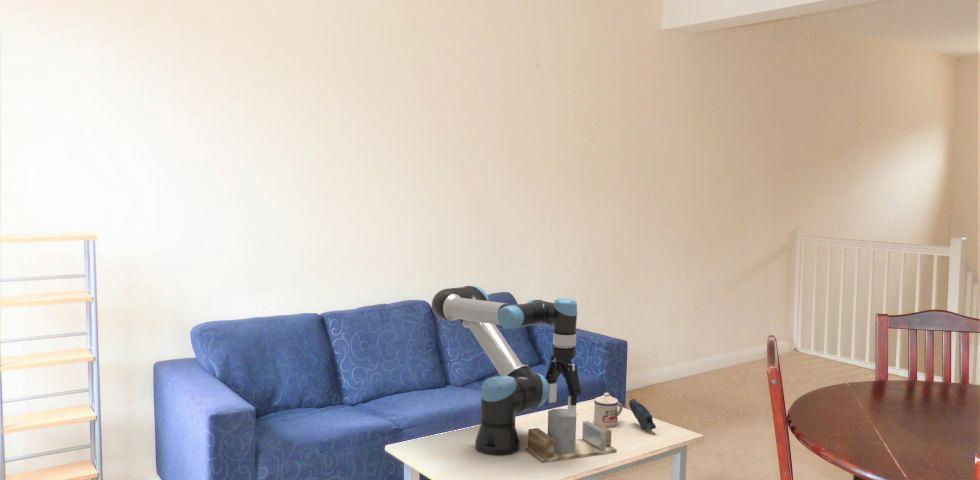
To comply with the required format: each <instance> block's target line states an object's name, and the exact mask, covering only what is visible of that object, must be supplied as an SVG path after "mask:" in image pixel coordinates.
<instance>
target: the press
mask: <svg viewBox="0 0 980 480" xmlns="http://www.w3.org/2000/svg"><path fill="white" fill-rule="evenodd" d="M527 431H528V434H527V445H525V446H524V450H525V451H526V452H527V453H529V454H530V455H531V456H532V457H534V458H535V459H536V460H538V461H539V462H540V463H550V462H557V461H563V460H570V459H571V460H572V459H578V458H585V457H592V456H593V457H594V456H598V455H599V456H601V455H605V454H606V455H607V454H614V453H617V449H616V448H615V447H613V446H612V445H608V446H606V449H605V450H599V449H598V448H596V447H595V446H593V445H592V444H590V443H588V442H587V441H585V440H584V439H582V438H580V439H576V443H575V449H576V450H575V451H574V452H573V453H569V454H557V453H554V444H555V439H553V438H552V437H550V436H549V435H548V433H546V432H545V431H543V430H542V429H540V428H539V427H535V428H529V429H527Z"/></svg>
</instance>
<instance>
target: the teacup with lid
mask: <svg viewBox="0 0 980 480" xmlns="http://www.w3.org/2000/svg"><path fill="white" fill-rule="evenodd" d="M593 402H594V407H593V408H594V413H593V414H594V415H593V416H594V417H593V423H594V425H595V426H601V425H603V426H604V427H606V428H612V427H616V426H617V425H618V416H619V415H621V413H622V412H623V404H622V403H620V402H619V400H618V398H616V397H613V396H612V395H610V393H609V392H604V393H603V395H601V396H598V397H595V398H594V400H593ZM618 409H619V410H618Z"/></svg>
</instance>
